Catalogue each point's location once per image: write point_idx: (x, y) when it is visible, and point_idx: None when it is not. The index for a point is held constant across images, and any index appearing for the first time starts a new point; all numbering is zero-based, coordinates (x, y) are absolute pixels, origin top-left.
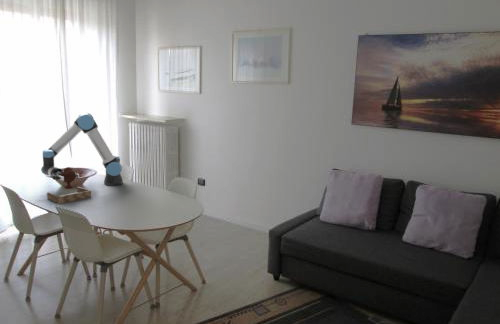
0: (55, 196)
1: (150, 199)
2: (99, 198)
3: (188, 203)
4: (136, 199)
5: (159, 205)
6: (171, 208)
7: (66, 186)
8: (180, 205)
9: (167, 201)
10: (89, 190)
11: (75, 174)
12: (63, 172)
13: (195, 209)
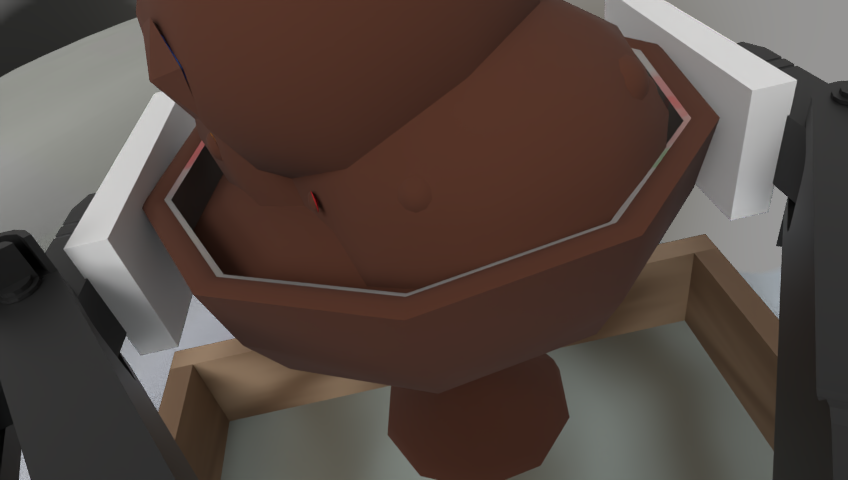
0: (774, 326)
1: (17, 164)
2: (199, 322)
3: (16, 81)
4: (58, 189)
5: (115, 87)
6: (132, 56)
7: (523, 376)
8: (66, 72)
9: (21, 118)
10: (178, 367)
11: (193, 144)
12: (559, 2)
13: (95, 38)
